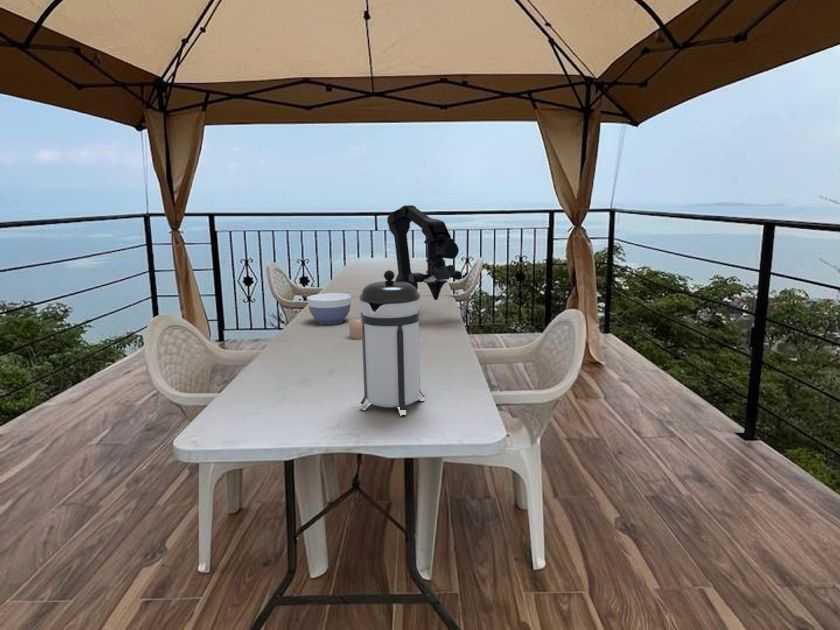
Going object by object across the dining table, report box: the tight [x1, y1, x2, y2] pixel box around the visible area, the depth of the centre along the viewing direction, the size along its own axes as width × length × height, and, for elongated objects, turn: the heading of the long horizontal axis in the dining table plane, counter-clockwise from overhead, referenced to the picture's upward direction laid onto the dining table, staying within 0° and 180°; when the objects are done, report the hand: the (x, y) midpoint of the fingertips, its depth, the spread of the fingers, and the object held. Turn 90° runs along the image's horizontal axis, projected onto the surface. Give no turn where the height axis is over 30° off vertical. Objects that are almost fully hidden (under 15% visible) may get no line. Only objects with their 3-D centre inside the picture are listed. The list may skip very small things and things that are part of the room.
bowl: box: [307, 292, 352, 325], centre depth 211 cm, size 16×16×10 cm
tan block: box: [348, 317, 362, 340], centre depth 187 cm, size 6×6×6 cm
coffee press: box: [359, 269, 425, 410], centre depth 124 cm, size 17×16×30 cm
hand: (435, 299), depth 205 cm, fingers closed
